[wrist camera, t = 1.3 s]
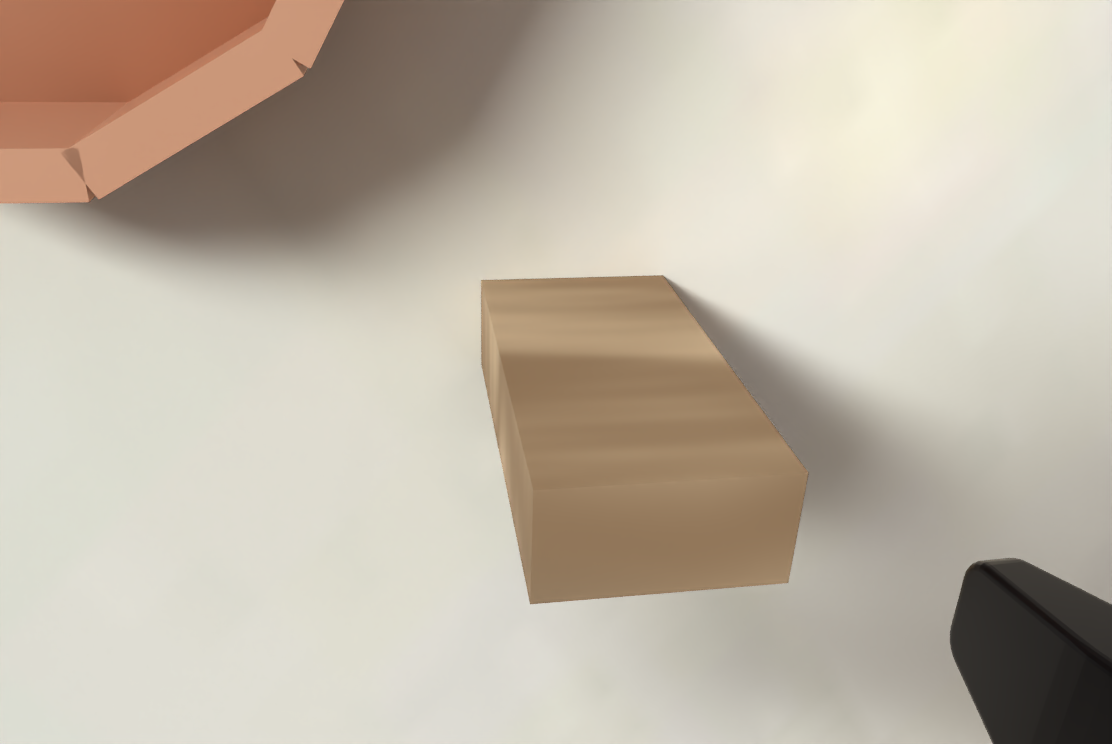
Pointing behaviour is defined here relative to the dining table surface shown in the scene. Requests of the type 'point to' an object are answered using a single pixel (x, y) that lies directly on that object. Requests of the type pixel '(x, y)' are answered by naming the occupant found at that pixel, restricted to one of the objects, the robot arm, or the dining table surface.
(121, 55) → the faceted terracotta bowl
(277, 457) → the dining table surface
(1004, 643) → the robot arm
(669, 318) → the wooden plank piece
